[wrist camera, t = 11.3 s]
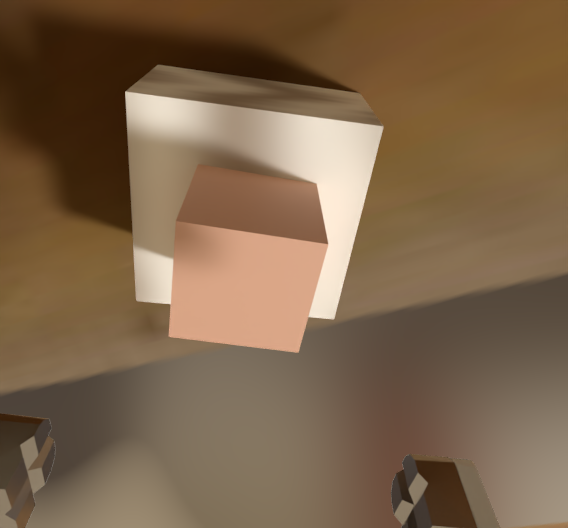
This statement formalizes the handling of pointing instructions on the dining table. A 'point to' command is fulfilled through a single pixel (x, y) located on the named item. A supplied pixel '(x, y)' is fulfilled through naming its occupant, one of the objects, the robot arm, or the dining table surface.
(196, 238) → the terracotta block
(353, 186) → the base block
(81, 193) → the dining table surface
